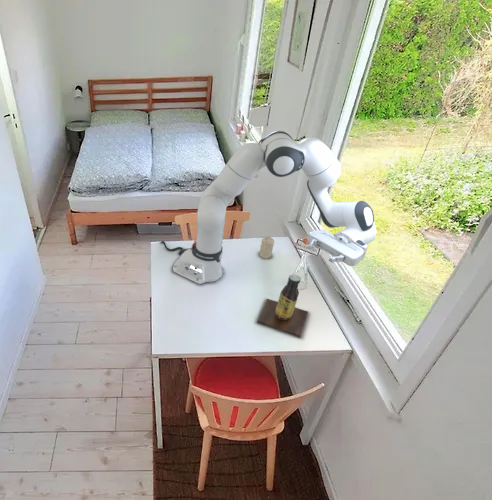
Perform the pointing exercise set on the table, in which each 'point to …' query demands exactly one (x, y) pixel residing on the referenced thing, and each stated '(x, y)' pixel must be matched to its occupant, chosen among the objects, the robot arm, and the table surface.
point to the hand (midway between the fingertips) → (319, 253)
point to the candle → (266, 247)
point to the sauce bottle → (288, 298)
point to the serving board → (287, 326)
